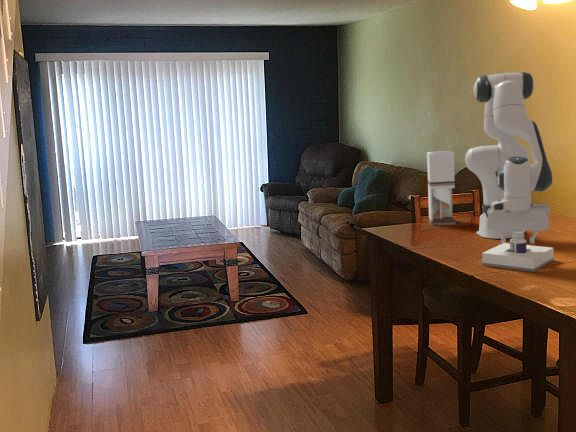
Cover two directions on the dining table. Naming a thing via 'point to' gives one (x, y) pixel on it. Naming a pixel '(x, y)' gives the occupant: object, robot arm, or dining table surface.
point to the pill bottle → (518, 243)
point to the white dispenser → (440, 187)
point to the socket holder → (517, 257)
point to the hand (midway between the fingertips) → (517, 242)
